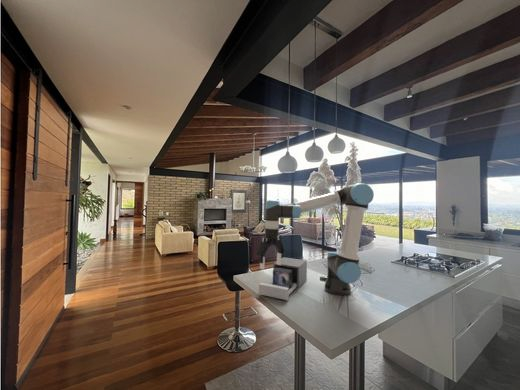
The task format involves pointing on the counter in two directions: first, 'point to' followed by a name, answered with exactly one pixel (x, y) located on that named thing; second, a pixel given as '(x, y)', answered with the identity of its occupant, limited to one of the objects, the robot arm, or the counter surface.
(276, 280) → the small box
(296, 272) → the housing
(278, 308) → the counter surface
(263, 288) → the grey drawer
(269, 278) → the counter surface
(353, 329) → the counter surface
